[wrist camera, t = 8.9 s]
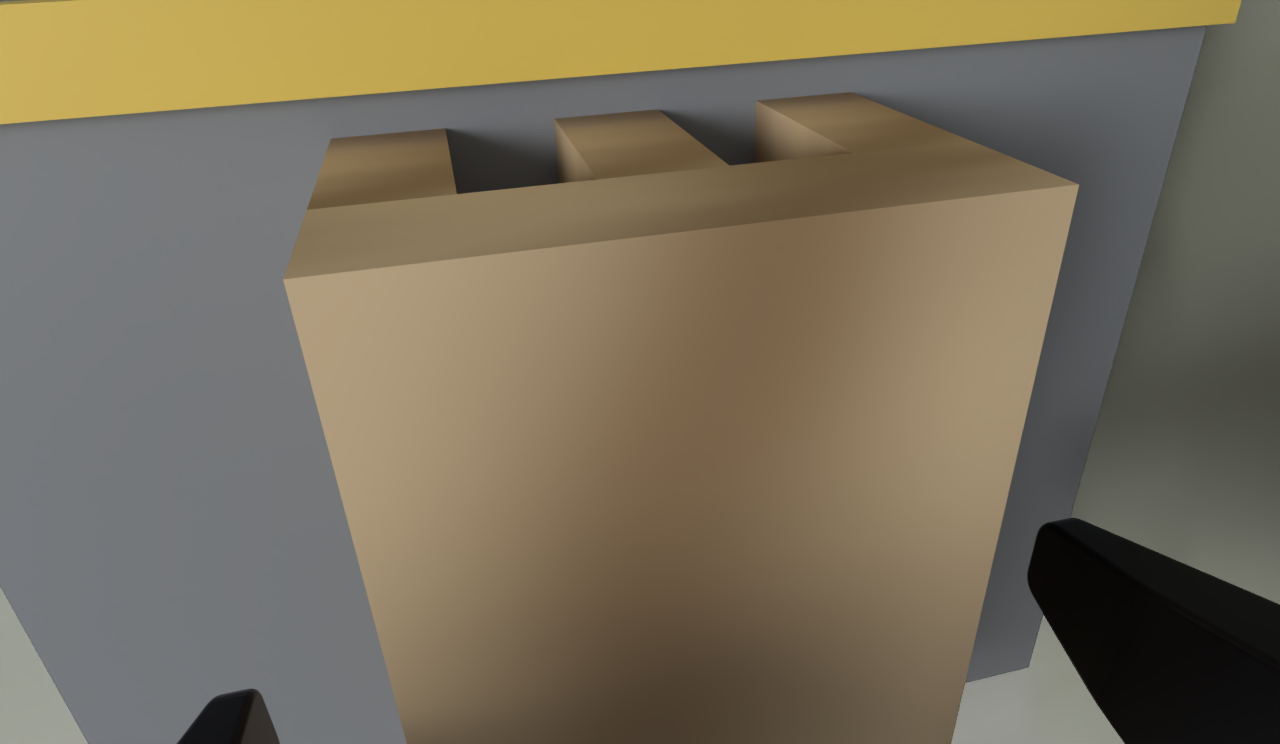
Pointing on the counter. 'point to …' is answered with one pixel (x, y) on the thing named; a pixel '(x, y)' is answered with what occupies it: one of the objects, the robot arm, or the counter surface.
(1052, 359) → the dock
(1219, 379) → the counter surface
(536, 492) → the pallet
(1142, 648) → the robot arm
